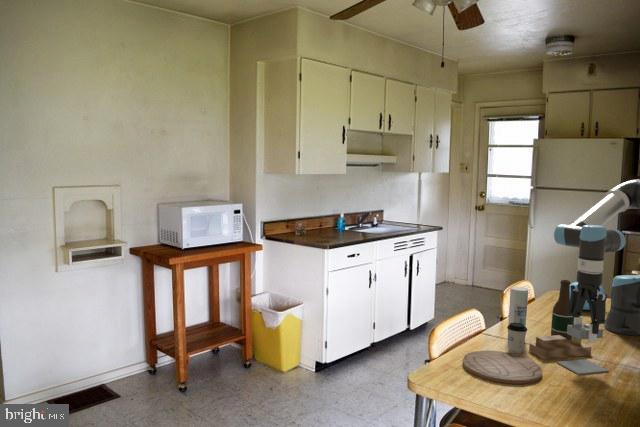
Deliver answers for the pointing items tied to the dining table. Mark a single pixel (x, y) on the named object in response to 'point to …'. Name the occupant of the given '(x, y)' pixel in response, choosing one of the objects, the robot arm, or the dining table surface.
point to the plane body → (558, 347)
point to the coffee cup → (516, 337)
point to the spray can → (518, 305)
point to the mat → (582, 367)
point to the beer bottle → (562, 312)
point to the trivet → (502, 367)
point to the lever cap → (581, 331)
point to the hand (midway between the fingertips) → (584, 339)
